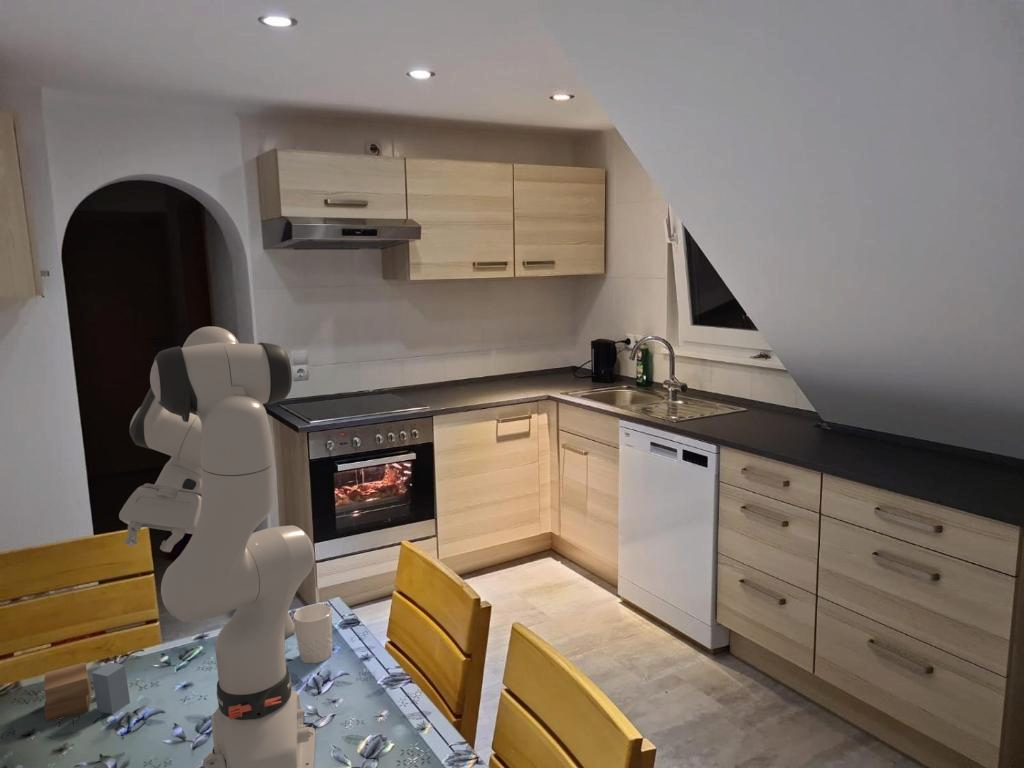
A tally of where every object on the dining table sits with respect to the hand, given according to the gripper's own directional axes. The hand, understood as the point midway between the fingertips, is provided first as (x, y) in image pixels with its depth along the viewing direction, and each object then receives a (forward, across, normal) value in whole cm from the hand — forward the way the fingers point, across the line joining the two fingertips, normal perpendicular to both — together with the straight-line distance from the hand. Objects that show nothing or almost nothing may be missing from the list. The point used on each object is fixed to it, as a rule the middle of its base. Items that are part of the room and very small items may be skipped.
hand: (146, 548), depth 153 cm
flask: (+5, +13, +35) cm, 38 cm away
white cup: (+9, +28, +31) cm, 42 cm away
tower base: (+31, -8, +9) cm, 33 cm away
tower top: (+28, -8, +7) cm, 30 cm away
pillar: (+28, 0, +11) cm, 30 cm away
